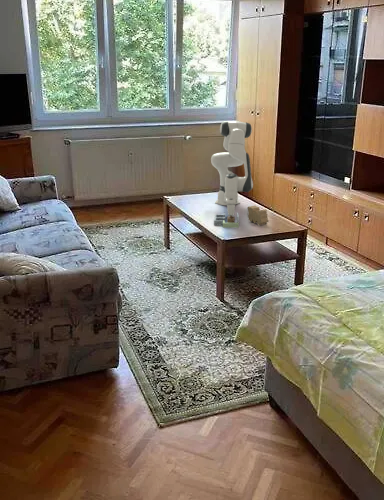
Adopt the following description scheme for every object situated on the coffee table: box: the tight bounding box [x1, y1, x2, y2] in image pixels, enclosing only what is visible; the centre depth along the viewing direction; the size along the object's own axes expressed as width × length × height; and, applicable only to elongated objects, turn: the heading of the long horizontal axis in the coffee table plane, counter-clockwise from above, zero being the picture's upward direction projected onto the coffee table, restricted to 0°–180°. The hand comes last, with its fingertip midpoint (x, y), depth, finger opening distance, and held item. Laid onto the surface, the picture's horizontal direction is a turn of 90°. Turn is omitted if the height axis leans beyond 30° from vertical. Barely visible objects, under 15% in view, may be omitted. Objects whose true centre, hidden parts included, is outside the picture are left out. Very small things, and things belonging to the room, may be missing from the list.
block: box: [226, 215, 236, 223], centre depth 348 cm, size 5×5×5 cm
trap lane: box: [213, 212, 240, 229], centre depth 354 cm, size 25×16×3 cm, turn 176°
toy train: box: [247, 205, 270, 226], centre depth 350 cm, size 6×17×10 cm, turn 28°
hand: (230, 218), depth 351 cm, fingers closed
